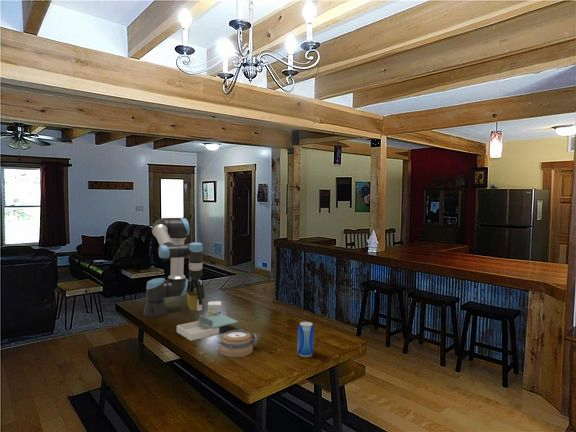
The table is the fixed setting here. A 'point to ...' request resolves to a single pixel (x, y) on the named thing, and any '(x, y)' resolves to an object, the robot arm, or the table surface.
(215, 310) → the ink box
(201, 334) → the white square tray
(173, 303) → the table surface
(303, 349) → the beer can
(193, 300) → the flower pot
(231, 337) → the alarm clock
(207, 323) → the lid
